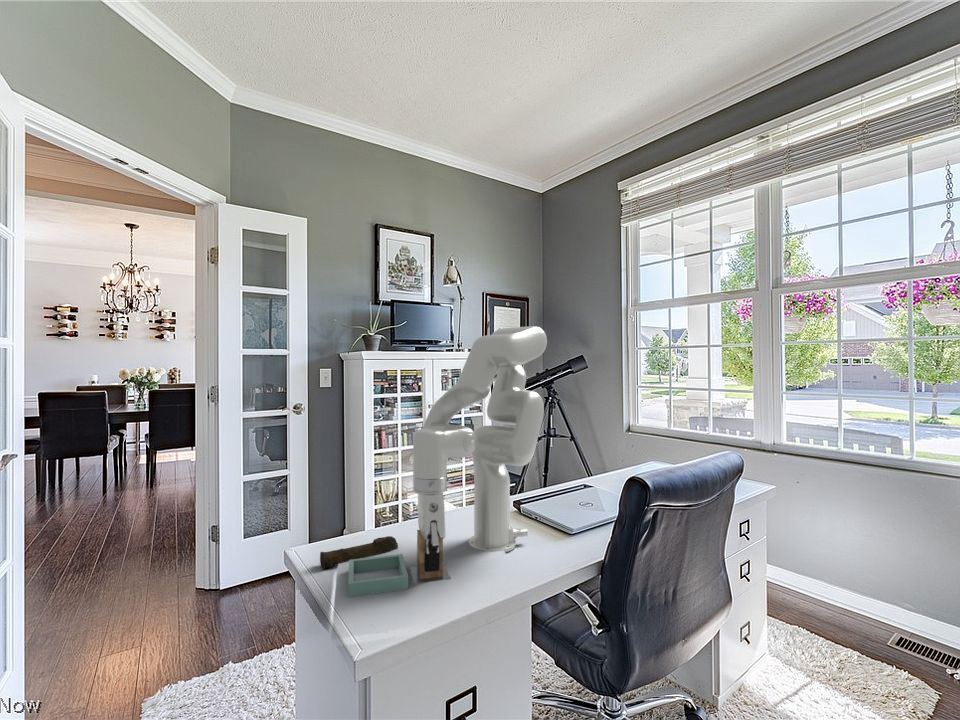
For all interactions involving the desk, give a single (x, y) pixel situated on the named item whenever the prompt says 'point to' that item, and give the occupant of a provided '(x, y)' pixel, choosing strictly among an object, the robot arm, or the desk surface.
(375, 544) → the hand tool
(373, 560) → the bin
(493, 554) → the desk surface
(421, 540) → the brown wooden block
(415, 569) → the stud base
